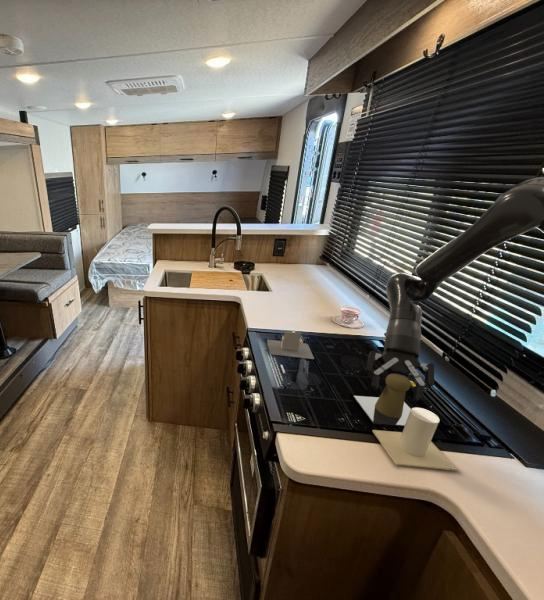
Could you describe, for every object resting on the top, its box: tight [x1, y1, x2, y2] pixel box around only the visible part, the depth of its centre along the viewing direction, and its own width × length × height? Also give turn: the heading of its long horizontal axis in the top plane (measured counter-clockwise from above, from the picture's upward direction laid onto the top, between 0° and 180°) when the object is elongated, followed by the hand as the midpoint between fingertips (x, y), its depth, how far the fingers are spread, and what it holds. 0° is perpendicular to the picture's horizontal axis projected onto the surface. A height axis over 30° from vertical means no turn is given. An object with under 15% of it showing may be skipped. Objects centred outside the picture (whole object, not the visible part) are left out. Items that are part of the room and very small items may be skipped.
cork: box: [375, 373, 412, 418], centre depth 83 cm, size 6×6×11 cm
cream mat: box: [372, 429, 457, 471], centre depth 73 cm, size 12×10×1 cm
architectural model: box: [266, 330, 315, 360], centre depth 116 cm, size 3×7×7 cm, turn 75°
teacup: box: [331, 305, 365, 329], centre depth 135 cm, size 12×12×6 cm
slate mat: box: [352, 395, 412, 428], centre depth 85 cm, size 13×11×1 cm
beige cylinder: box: [398, 407, 441, 457], centre depth 71 cm, size 5×5×10 cm
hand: (395, 394), depth 81 cm, fingers open, 8 cm apart
